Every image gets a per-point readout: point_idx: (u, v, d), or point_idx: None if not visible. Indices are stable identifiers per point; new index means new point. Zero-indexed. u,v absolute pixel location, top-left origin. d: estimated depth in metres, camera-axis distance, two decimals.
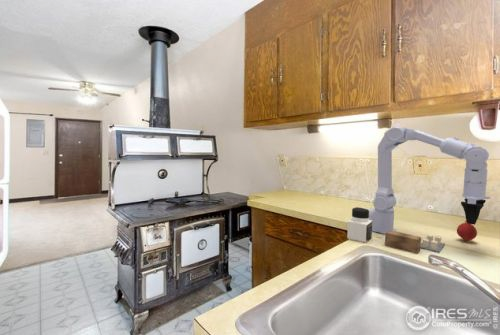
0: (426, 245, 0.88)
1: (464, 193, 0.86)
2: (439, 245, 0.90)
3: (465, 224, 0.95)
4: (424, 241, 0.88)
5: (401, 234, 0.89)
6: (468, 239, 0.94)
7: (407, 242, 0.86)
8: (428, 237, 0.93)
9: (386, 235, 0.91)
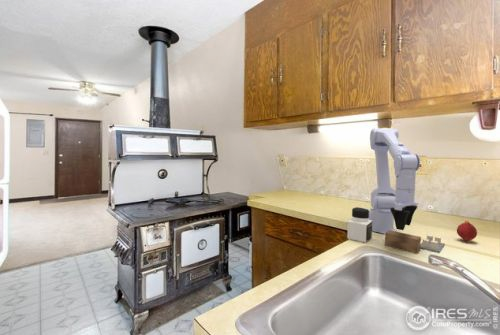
0: (426, 245, 0.88)
1: (395, 199, 0.88)
2: (439, 245, 0.90)
3: (465, 224, 0.95)
4: (424, 241, 0.88)
5: (401, 234, 0.89)
6: (468, 239, 0.94)
7: (407, 242, 0.86)
8: (428, 237, 0.93)
9: (386, 235, 0.91)
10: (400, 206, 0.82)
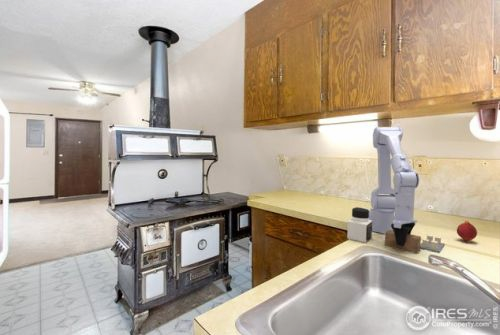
0: (426, 245, 0.88)
1: (394, 216, 0.89)
2: (439, 245, 0.90)
3: (465, 224, 0.95)
4: (424, 241, 0.88)
5: None
6: (468, 239, 0.94)
7: (407, 242, 0.86)
8: (428, 237, 0.93)
9: (386, 235, 0.91)
10: (399, 224, 0.83)
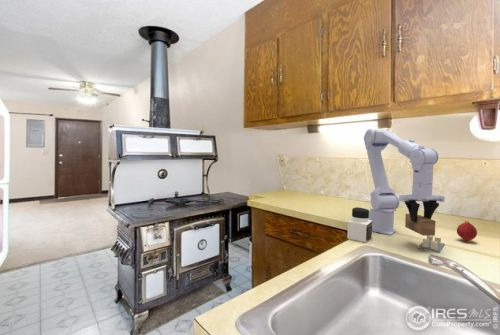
0: (426, 245, 0.88)
1: None
2: (439, 245, 0.90)
3: (465, 224, 0.95)
4: (424, 241, 0.88)
5: (418, 216, 0.90)
6: (468, 239, 0.94)
7: (417, 223, 0.87)
8: (428, 237, 0.93)
9: (406, 216, 0.94)
10: (401, 197, 0.88)
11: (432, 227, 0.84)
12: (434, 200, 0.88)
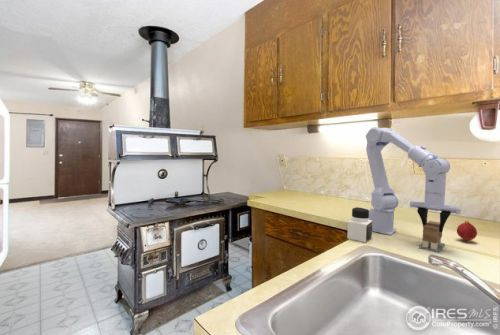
0: (426, 245, 0.88)
1: None
2: (439, 245, 0.90)
3: (465, 224, 0.95)
4: (424, 241, 0.88)
5: (433, 224, 0.90)
6: (468, 239, 0.94)
7: None
8: None
9: None
10: (410, 203, 0.94)
11: (433, 234, 0.86)
12: (448, 211, 0.86)
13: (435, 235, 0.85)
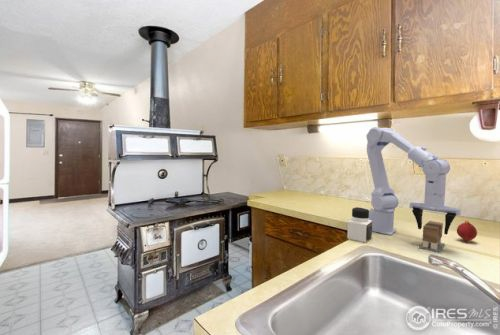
0: (426, 245, 0.88)
1: None
2: (439, 245, 0.90)
3: (465, 224, 0.95)
4: (424, 241, 0.88)
5: (433, 224, 0.90)
6: (468, 239, 0.94)
7: None
8: None
9: None
10: None
11: (433, 234, 0.86)
12: (448, 212, 0.86)
13: (435, 235, 0.85)
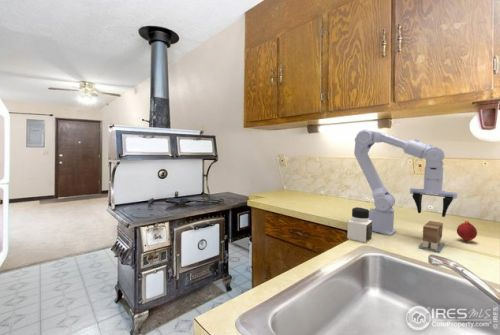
0: (426, 245, 0.88)
1: None
2: (439, 245, 0.90)
3: (465, 224, 0.95)
4: (424, 241, 0.88)
5: (433, 224, 0.90)
6: (468, 239, 0.94)
7: None
8: None
9: None
10: (410, 190, 1.00)
11: (433, 234, 0.86)
12: (445, 196, 0.93)
13: (435, 235, 0.85)
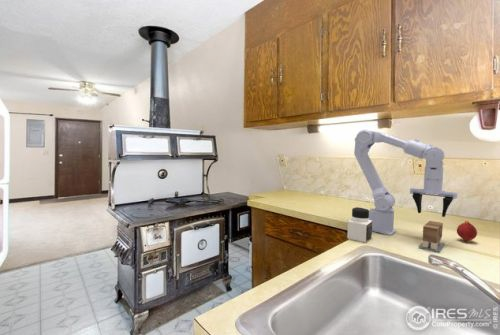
0: (426, 245, 0.88)
1: None
2: (439, 245, 0.90)
3: (465, 224, 0.95)
4: (424, 241, 0.88)
5: (433, 224, 0.90)
6: (468, 239, 0.94)
7: None
8: None
9: None
10: (410, 190, 1.00)
11: (433, 234, 0.86)
12: (445, 196, 0.93)
13: (435, 235, 0.85)
